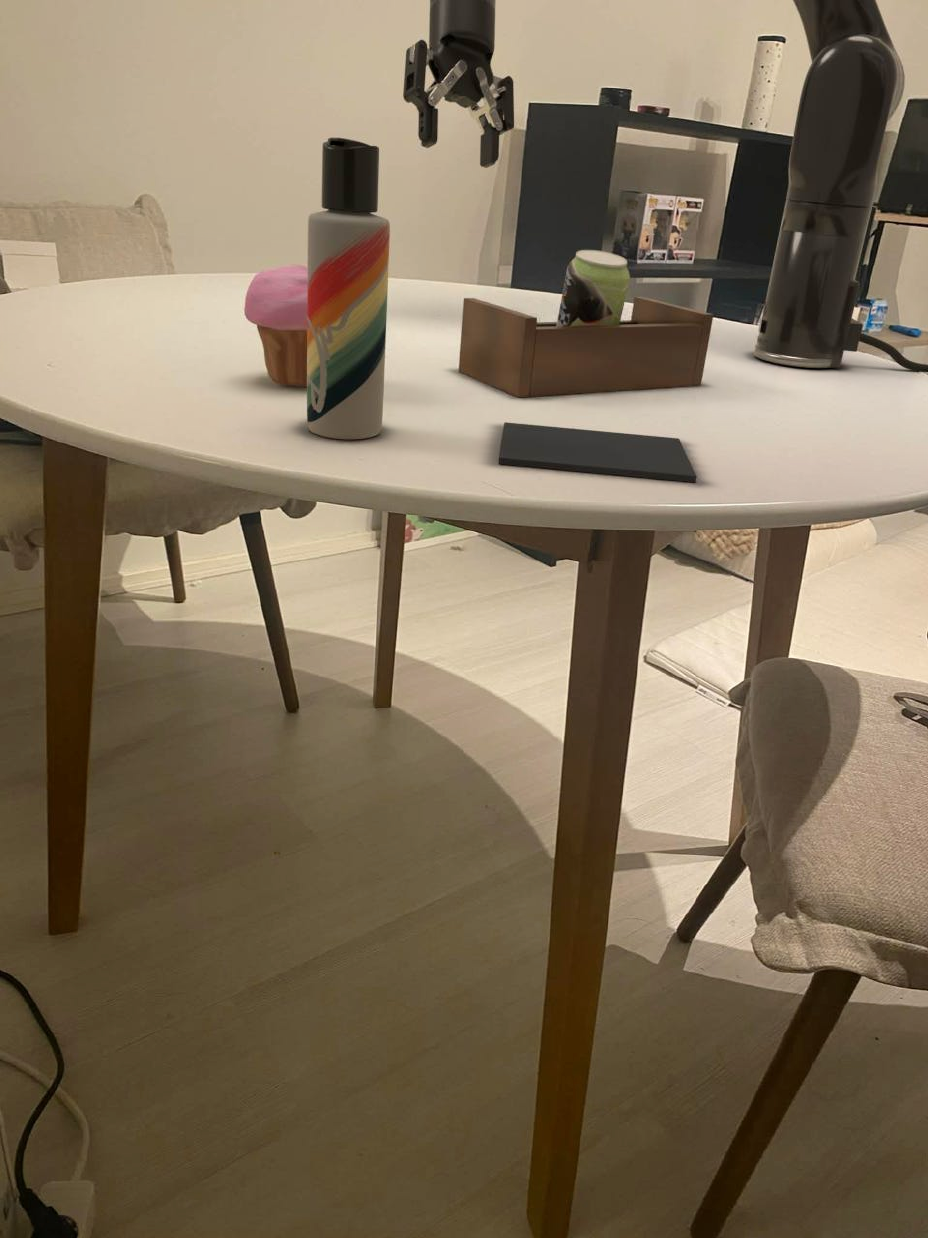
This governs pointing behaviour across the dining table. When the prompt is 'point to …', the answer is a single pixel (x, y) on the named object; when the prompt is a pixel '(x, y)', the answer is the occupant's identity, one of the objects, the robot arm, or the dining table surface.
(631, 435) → the mat
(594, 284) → the beverage can
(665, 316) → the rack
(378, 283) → the lotion bottle
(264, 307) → the cupcake
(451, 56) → the robot arm
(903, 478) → the dining table surface
